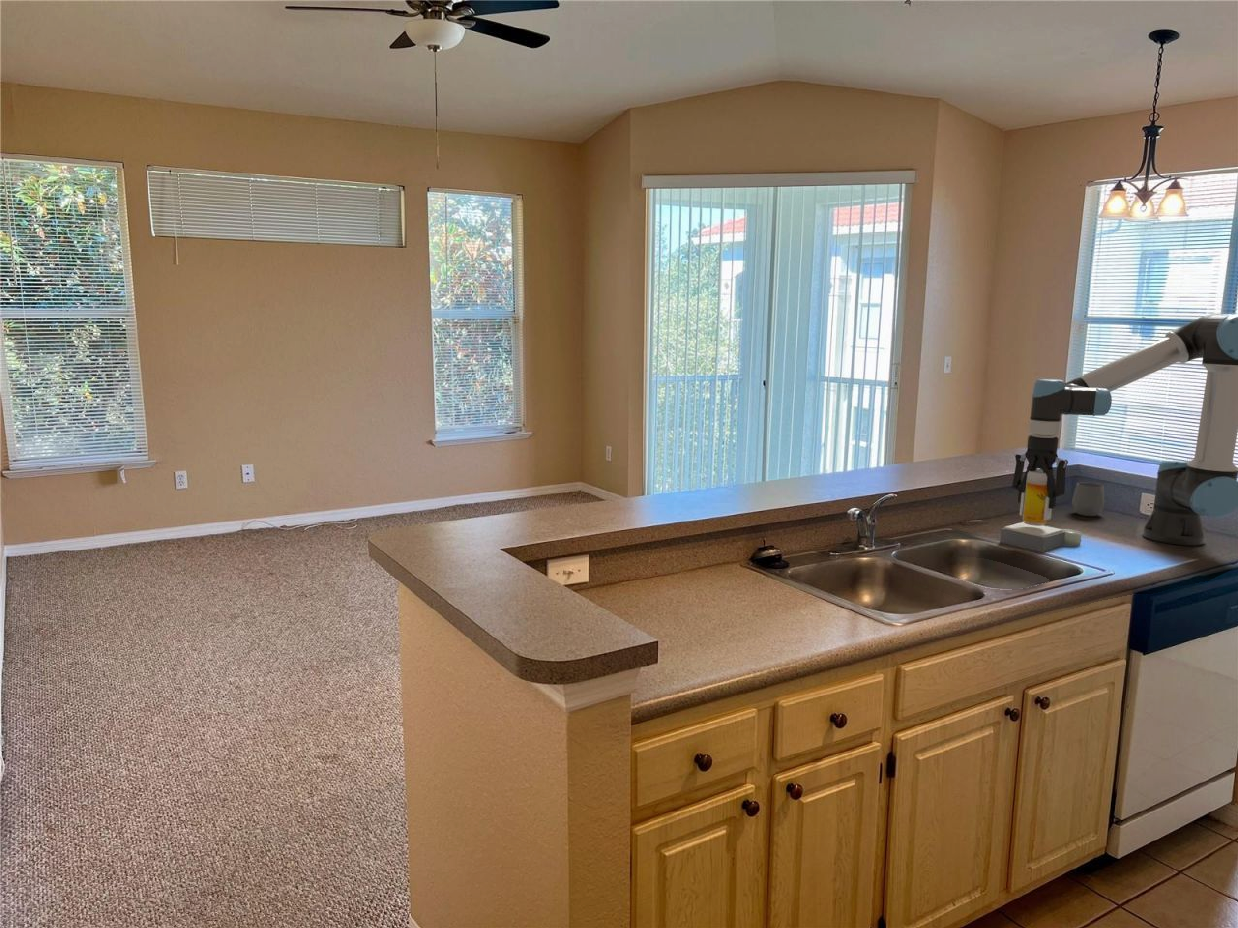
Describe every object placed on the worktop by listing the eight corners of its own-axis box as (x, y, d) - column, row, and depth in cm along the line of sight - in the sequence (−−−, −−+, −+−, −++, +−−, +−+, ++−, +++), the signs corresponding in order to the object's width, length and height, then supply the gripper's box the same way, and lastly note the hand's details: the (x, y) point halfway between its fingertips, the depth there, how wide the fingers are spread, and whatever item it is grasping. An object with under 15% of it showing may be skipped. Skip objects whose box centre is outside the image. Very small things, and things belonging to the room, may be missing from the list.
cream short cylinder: (1084, 544, 238) (1085, 532, 238) (1074, 547, 235) (1075, 535, 234) (1062, 539, 243) (1064, 527, 242) (1052, 542, 239) (1053, 530, 239)
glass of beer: (1045, 527, 232) (1051, 473, 229) (1021, 524, 235) (1026, 471, 232) (1046, 522, 237) (1052, 470, 235) (1023, 519, 240) (1028, 468, 237)
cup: (1109, 516, 273) (1113, 486, 271) (1092, 519, 268) (1096, 488, 266) (1081, 510, 281) (1084, 480, 279) (1064, 513, 276) (1067, 483, 274)
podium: (1063, 545, 236) (1065, 529, 235) (1042, 552, 229) (1044, 535, 228) (1021, 536, 245) (1023, 520, 245) (1000, 542, 238) (1001, 526, 237)
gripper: (1085, 438, 226) (1076, 522, 230) (1016, 430, 241) (1008, 508, 245) (1072, 440, 222) (1063, 525, 226) (1003, 432, 237) (995, 512, 241)
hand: (1034, 516), depth 236 cm, fingers closed on glass of beer, 6 cm apart
